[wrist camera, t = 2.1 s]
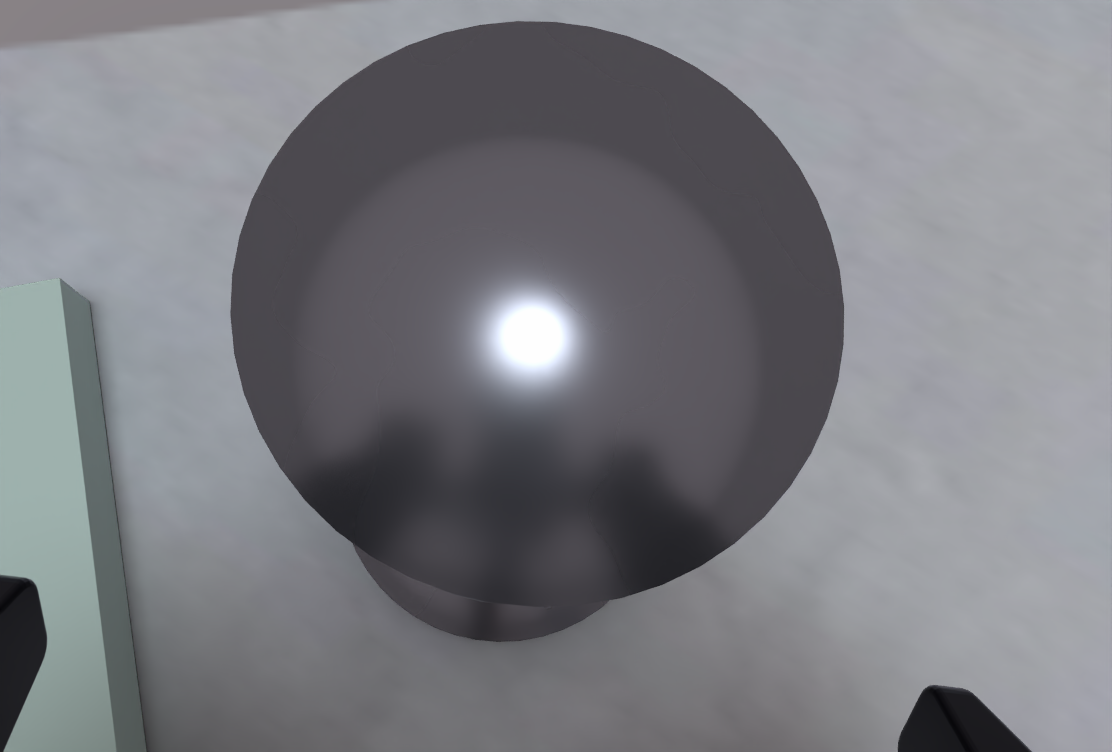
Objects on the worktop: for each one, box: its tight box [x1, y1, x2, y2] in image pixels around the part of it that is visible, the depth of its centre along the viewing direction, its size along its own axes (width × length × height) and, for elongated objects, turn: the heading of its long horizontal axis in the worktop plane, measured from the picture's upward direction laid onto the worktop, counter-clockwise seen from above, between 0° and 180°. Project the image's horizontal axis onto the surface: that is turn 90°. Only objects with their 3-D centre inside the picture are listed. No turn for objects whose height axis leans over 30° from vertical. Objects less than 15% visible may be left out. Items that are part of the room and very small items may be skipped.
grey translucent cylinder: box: [231, 21, 844, 642], centre depth 14 cm, size 6×6×13 cm
